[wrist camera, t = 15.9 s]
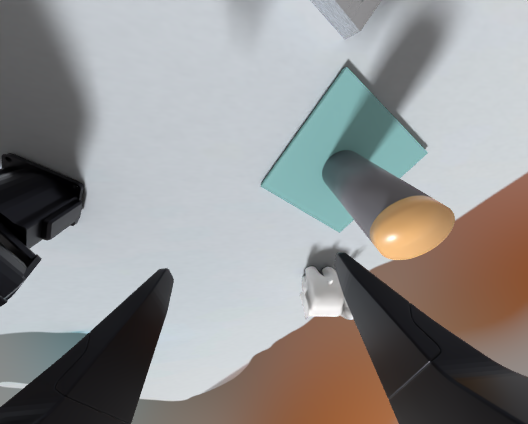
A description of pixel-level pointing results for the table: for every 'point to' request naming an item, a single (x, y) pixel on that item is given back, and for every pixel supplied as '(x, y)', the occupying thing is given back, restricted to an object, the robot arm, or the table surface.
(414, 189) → the grey orange domed cylinder
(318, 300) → the elephant figurine
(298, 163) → the teal mat
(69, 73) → the table surface
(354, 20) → the collar
